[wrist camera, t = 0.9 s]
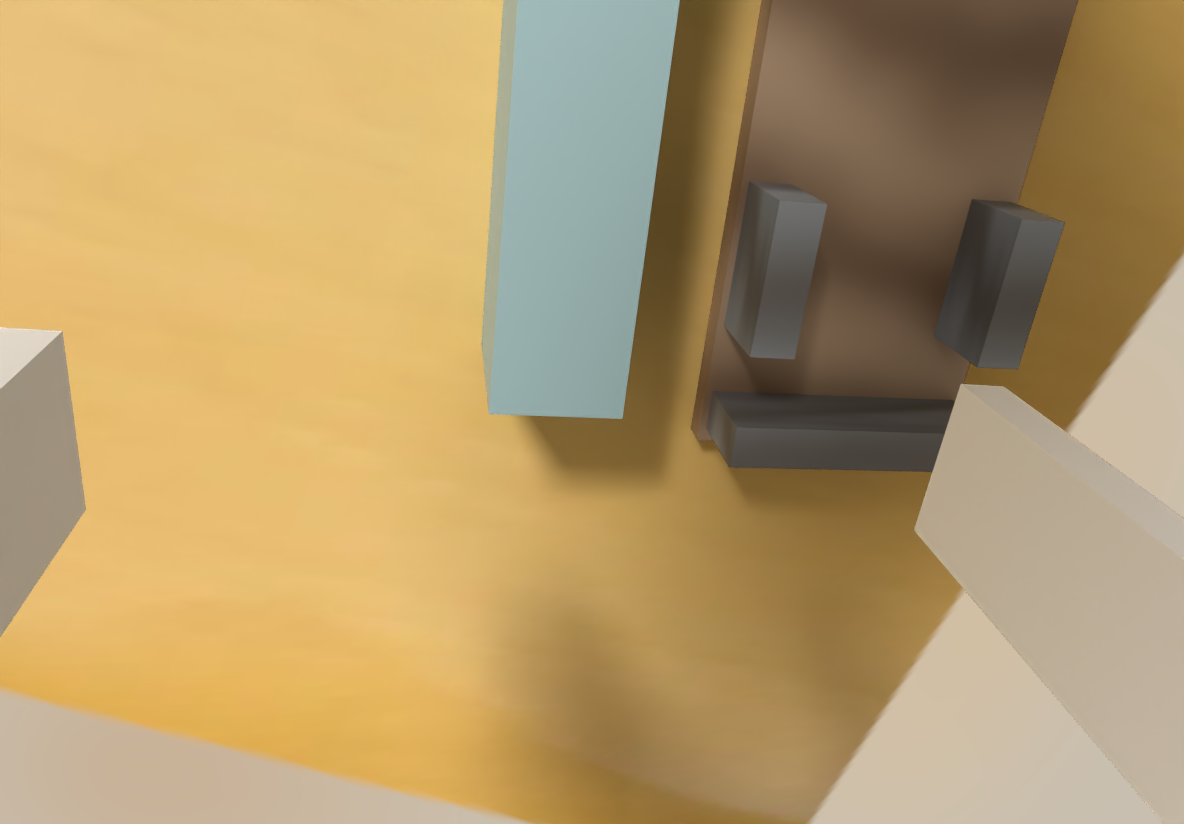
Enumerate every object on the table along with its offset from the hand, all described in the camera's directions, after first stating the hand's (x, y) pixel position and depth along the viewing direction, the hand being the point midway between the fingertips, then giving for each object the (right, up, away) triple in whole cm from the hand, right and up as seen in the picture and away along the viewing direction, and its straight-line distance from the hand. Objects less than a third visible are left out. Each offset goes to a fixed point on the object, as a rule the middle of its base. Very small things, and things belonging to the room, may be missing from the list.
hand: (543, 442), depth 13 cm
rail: (0, +13, +14) cm, 19 cm away
